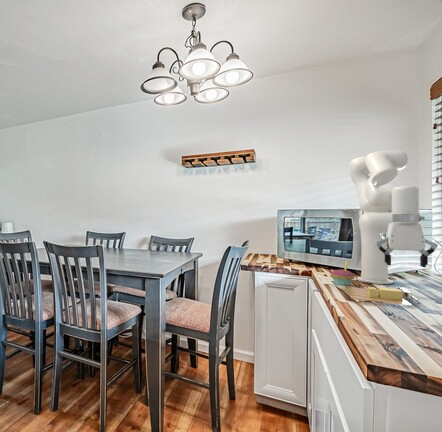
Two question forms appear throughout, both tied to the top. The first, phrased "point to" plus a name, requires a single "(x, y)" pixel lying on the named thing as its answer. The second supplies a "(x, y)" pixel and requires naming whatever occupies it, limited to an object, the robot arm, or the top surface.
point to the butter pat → (372, 292)
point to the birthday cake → (342, 276)
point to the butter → (390, 293)
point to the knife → (408, 294)
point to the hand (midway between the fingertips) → (405, 265)
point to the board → (363, 295)
